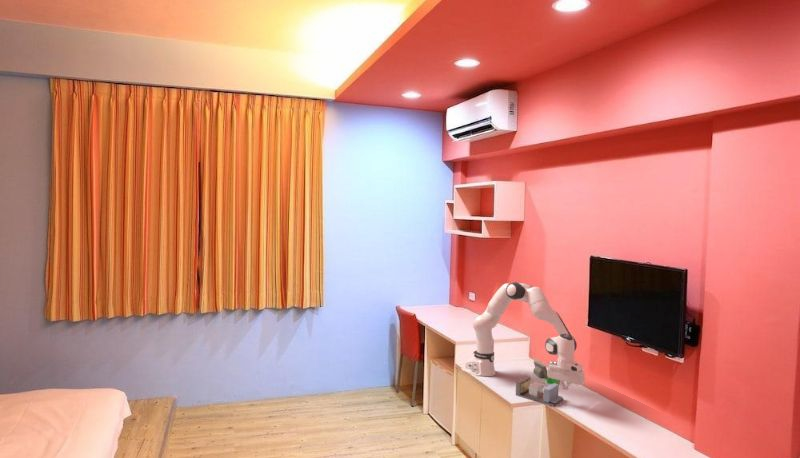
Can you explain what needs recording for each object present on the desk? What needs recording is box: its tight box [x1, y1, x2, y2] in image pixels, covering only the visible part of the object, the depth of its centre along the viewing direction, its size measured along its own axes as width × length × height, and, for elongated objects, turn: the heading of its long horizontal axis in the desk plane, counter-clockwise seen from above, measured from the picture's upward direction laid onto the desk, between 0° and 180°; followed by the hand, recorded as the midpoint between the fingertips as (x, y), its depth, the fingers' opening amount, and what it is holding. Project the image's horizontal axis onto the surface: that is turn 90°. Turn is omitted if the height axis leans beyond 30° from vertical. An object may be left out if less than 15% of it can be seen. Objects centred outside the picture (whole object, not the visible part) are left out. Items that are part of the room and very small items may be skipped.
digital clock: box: [533, 359, 548, 380], centre depth 320 cm, size 14×8×9 cm, turn 2°
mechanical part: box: [546, 376, 560, 385], centre depth 310 cm, size 12×6×8 cm, turn 154°
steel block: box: [529, 381, 544, 398], centre depth 283 cm, size 5×8×6 cm, turn 139°
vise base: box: [515, 376, 564, 408], centre depth 282 cm, size 23×13×8 cm, turn 49°
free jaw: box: [543, 383, 563, 403], centre depth 276 cm, size 7×13×7 cm, turn 139°
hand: (565, 389), depth 272 cm, fingers closed
